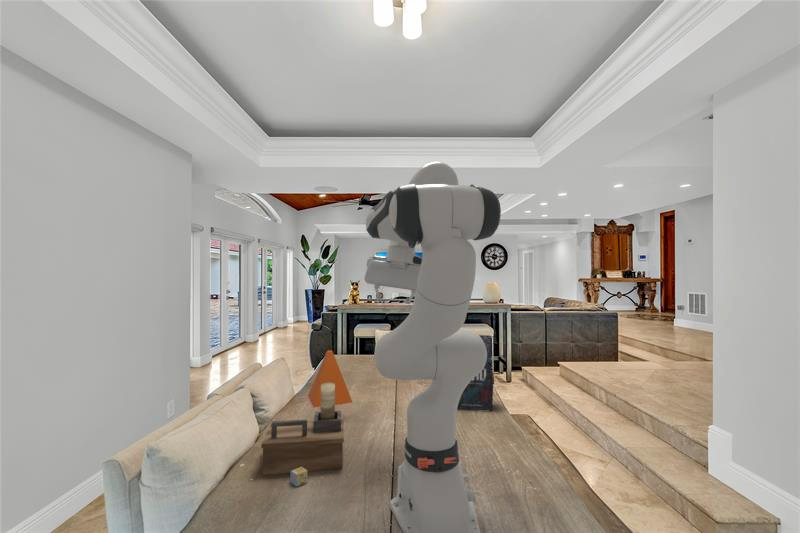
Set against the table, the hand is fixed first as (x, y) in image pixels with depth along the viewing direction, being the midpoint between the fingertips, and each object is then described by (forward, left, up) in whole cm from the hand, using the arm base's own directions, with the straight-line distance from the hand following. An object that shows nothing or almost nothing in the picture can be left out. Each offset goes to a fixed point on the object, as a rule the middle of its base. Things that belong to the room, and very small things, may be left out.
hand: (393, 301), depth 117 cm
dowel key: (-6, +20, -35) cm, 41 cm away
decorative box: (+25, -34, -44) cm, 61 cm away
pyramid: (+43, +21, -44) cm, 65 cm away
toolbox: (-8, +26, -43) cm, 51 cm away
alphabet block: (-19, +26, -44) cm, 54 cm away
